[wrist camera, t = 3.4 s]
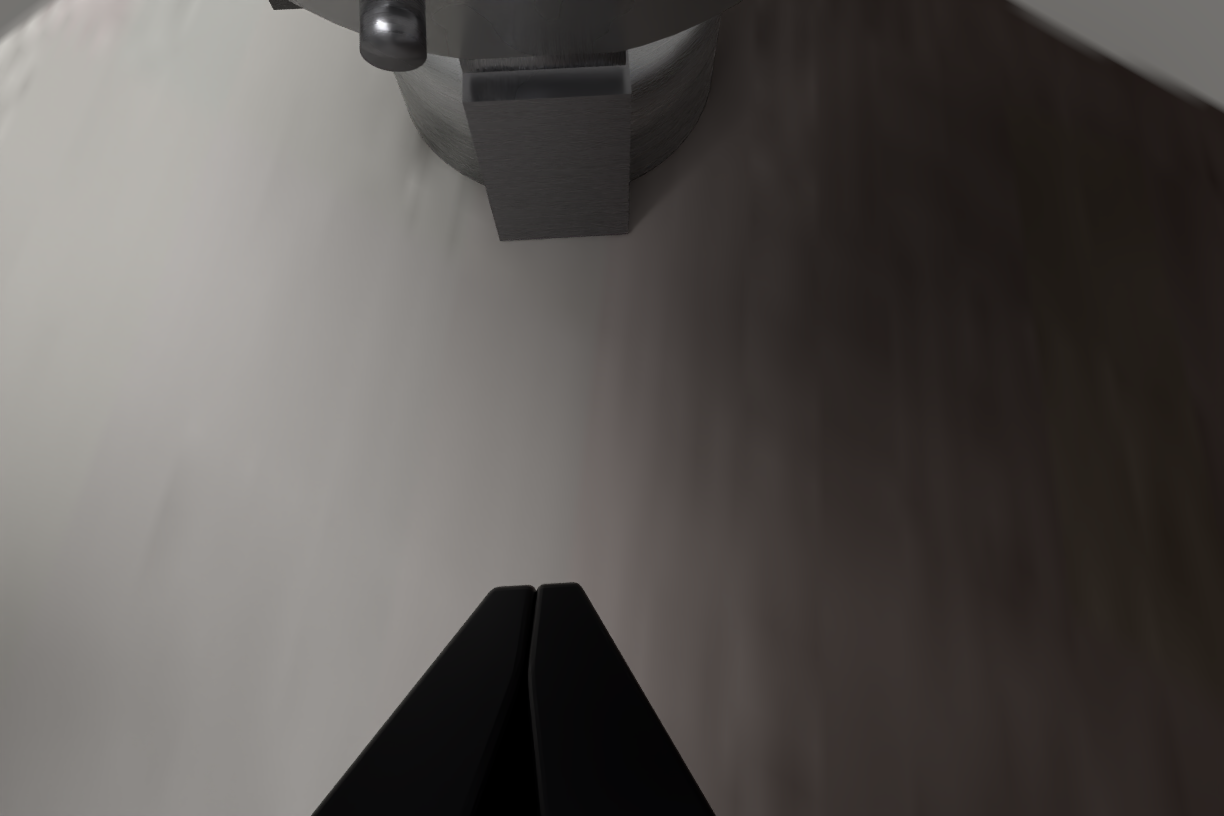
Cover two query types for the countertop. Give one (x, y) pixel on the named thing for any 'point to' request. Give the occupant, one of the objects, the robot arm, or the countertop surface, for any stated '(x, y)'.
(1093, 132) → the countertop surface
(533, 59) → the lid
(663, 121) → the pot
